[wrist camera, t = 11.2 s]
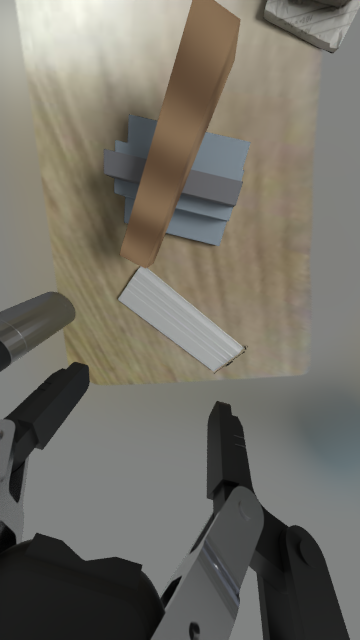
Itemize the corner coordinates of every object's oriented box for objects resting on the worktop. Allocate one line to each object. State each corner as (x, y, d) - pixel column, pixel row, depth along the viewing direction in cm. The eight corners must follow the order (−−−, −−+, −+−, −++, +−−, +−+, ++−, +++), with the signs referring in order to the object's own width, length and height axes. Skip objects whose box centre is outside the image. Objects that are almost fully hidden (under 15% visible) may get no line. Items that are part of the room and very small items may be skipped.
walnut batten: (153, 263, 28) (145, 268, 25) (130, 251, 28) (119, 254, 24) (234, 60, 17) (240, 19, 14) (198, 36, 17) (196, -13, 14)
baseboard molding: (147, 258, 37) (120, 297, 43) (142, 260, 35) (115, 301, 40) (247, 342, 44) (213, 367, 49) (250, 350, 41) (213, 375, 47)
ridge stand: (218, 244, 34) (221, 251, 26) (128, 222, 34) (104, 221, 26) (247, 147, 27) (263, 115, 19) (134, 121, 27) (103, 79, 19)
